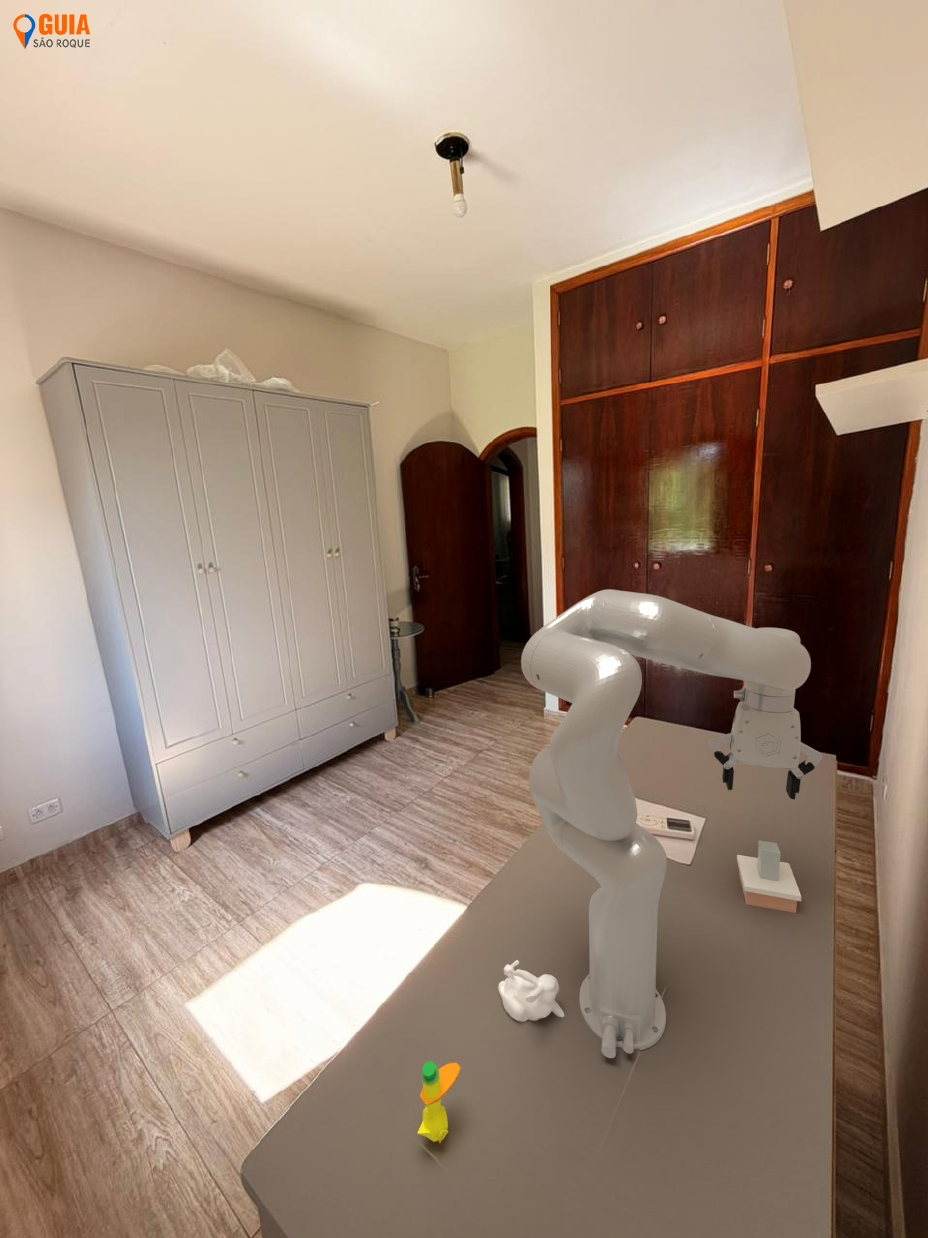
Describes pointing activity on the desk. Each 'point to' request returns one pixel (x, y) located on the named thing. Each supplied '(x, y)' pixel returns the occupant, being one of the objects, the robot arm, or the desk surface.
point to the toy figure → (436, 1098)
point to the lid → (768, 873)
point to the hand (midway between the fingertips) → (759, 790)
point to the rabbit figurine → (529, 994)
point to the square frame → (769, 901)
